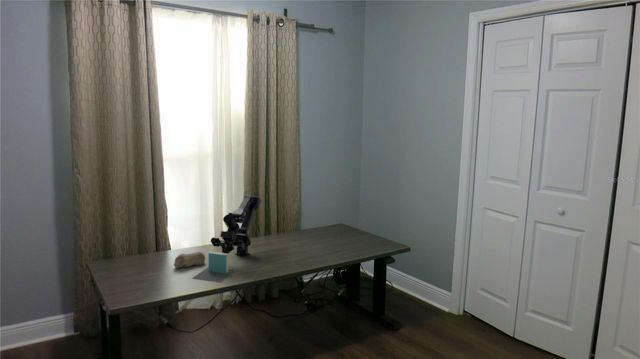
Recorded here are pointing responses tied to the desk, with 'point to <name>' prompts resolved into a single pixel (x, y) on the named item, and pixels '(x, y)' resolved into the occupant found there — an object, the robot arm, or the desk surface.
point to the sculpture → (189, 260)
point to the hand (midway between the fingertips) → (223, 257)
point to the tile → (218, 262)
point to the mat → (213, 275)
